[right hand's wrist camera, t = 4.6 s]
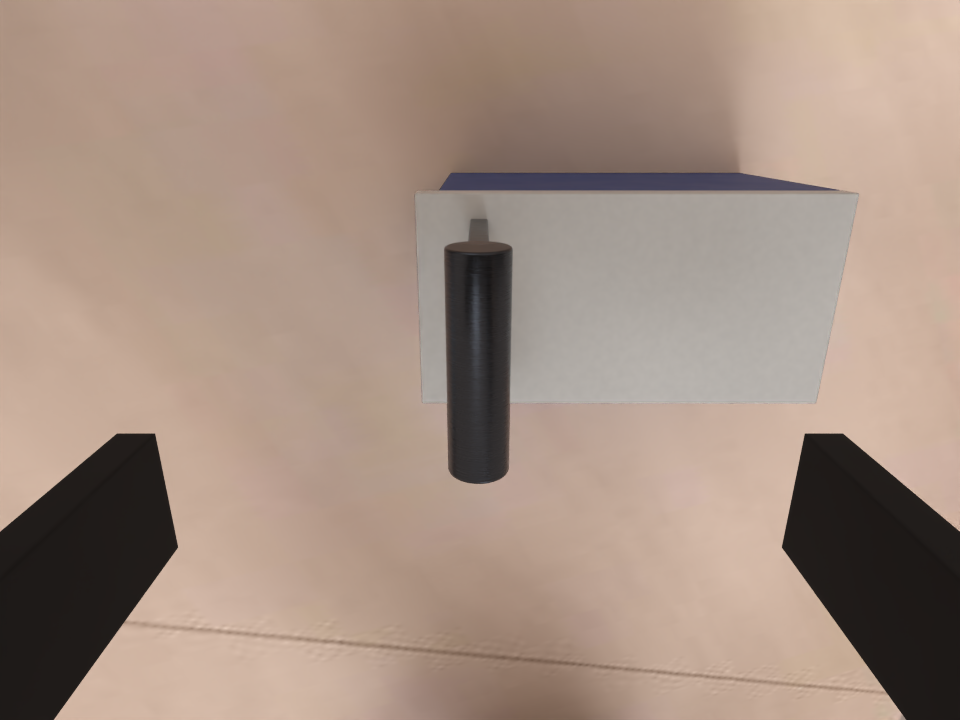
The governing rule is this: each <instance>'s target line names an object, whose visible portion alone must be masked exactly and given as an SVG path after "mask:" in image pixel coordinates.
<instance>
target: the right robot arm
mask: <svg viewBox="0 0 960 720" xmlns="http://www.w3.org/2000/svg"><path fill="white" fill-rule="evenodd" d="M177 548H178V545H177V540H176V535H175V530H174V525H173V520H172V515H171V510H170V505H169V500H168V495H167V490H166V485H165V480H164V476H163V471H162V466H161V461H160V456H159V451H158V446H157V441H156V436H155V434H116V435H115V436H114V437H113V438H111V439H110V440H109V441H108V442H107V443H105V444H104V445H103V446H102V447H101V448H99V449H98V450H97V451H96V452H95V453H93V454H92V455H91V456H90V457H89V458H88V459H86V460H85V461H84V462H83V463H82V464H80V465H79V466H78V467H77V468H76V469H74V470H73V471H72V472H71V473H70V474H68V475H67V476H66V477H65V478H64V479H63V480H61V481H60V482H59V483H58V484H57V485H55V486H54V487H53V488H52V489H51V490H49V491H48V492H47V493H46V494H45V495H43V496H42V497H41V498H40V499H39V500H37V501H36V502H35V503H34V504H33V505H32V506H30V507H29V508H28V509H27V510H26V511H24V512H23V513H22V514H21V515H20V516H18V517H17V518H16V519H15V520H14V521H12V522H11V523H10V524H9V525H8V526H7V527H5V528H4V529H3V530H2V531H1V532H0V720H54V719H55V717H56V716H57V714H58V713H59V712H60V710H61V709H62V708H63V706H64V705H65V703H66V702H67V701H68V699H69V698H70V696H71V695H72V694H73V692H74V691H75V689H76V688H77V687H78V685H79V684H80V683H81V681H82V680H83V678H84V677H85V676H86V674H87V673H88V671H89V670H90V669H91V667H92V666H93V665H94V663H95V662H96V660H97V659H98V658H99V656H100V655H101V653H102V652H103V651H104V649H105V648H106V647H107V645H108V644H109V642H110V641H111V640H112V638H113V637H114V635H115V634H116V633H117V631H118V630H119V629H120V627H121V626H122V624H123V623H124V622H125V620H126V619H127V617H128V616H129V615H130V613H131V612H132V610H133V609H134V608H135V606H136V605H137V604H138V602H139V601H140V599H141V598H142V597H143V595H144V594H145V592H146V591H147V590H148V588H149V587H150V586H151V584H152V583H153V581H154V580H155V579H156V577H157V576H158V574H159V573H160V572H161V570H162V569H163V568H164V566H165V565H166V563H167V562H168V561H169V559H170V558H171V556H172V555H173V554H174V552H175V551H176V550H177ZM782 548H783V550H784V551H785V552H786V554H787V555H788V556H789V558H790V559H791V561H792V562H793V563H794V565H795V566H796V568H797V569H798V570H799V572H800V573H801V574H802V576H803V577H804V579H805V580H806V581H807V583H808V584H809V586H810V587H811V588H812V590H813V591H814V592H815V594H816V595H817V597H818V598H819V599H820V601H821V602H822V604H823V605H824V606H825V608H826V609H827V611H828V612H829V613H830V615H831V616H832V617H833V619H834V620H835V622H836V623H837V624H838V626H839V627H840V629H841V630H842V631H843V633H844V634H845V635H846V637H847V638H848V640H849V641H850V642H851V644H852V645H853V647H854V648H855V649H856V651H857V652H858V653H859V655H860V656H861V658H862V659H863V660H864V662H865V663H866V665H867V666H868V667H869V669H870V670H871V671H872V673H873V674H874V676H875V677H876V678H877V680H878V681H879V683H880V684H881V685H882V687H883V688H884V689H885V691H886V692H887V694H888V695H889V696H890V698H891V699H892V701H893V702H894V703H895V705H896V706H897V708H898V709H899V710H900V712H901V713H902V714H903V716H904V717H905V719H906V720H960V532H959V531H958V530H957V529H956V528H955V527H953V526H952V525H951V524H950V523H949V522H948V521H946V520H945V519H944V518H943V517H942V516H940V515H939V514H938V513H937V512H936V511H934V510H933V509H932V508H931V507H930V506H928V505H927V504H926V503H925V502H924V501H923V500H921V499H920V498H919V497H918V496H917V495H915V494H914V493H913V492H912V491H911V490H909V489H908V488H907V487H906V486H905V485H903V484H902V483H901V482H900V481H899V480H897V479H896V478H895V477H894V476H893V475H892V474H890V473H889V472H888V471H887V470H886V469H884V468H883V467H882V466H881V465H880V464H878V463H877V462H876V461H875V460H874V459H872V458H871V457H870V456H869V455H868V454H867V453H865V452H864V451H863V450H862V449H861V448H859V447H858V446H857V445H856V444H855V443H853V442H852V441H851V440H850V439H849V438H847V437H846V436H845V435H844V434H805V436H804V441H803V446H802V451H801V456H800V461H799V466H798V471H797V476H796V480H795V485H794V490H793V495H792V500H791V505H790V510H789V515H788V520H787V525H786V530H785V535H784V540H783V545H782Z"/></svg>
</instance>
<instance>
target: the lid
mask: <svg viewBox="0 0 960 720" xmlns="http://www.w3.org/2000/svg"><path fill="white" fill-rule="evenodd" d="M858 197H859V194H858V193H854V192H848V191H654V190H419V191H417V192H416V193H415V220H416V248H417V276H418V305H419V333H420V361H421V389H422V403H447V426H448V469H449V471H450V473H451V475H452V476H453V477H455V478H456V479H458V480H460V481H463V482H467V483H473V484H484V483H490V482H494V481H497V480H499V479H501V478H502V477H504V476H505V475H506V473H507V472H508V469H509V430H510V403H816V401H817V396H818V392H819V387H820V382H821V377H822V372H823V367H824V362H825V358H826V353H827V348H828V343H829V338H830V333H831V328H832V324H833V319H834V314H835V309H836V304H837V299H838V294H839V289H840V285H841V280H842V275H843V270H844V265H845V260H846V255H847V251H848V246H849V241H850V236H851V231H852V226H853V221H854V217H855V212H856V207H857V202H858Z"/></svg>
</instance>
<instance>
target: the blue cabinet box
mask: <svg viewBox="0 0 960 720" xmlns="http://www.w3.org/2000/svg"><path fill="white" fill-rule="evenodd" d="M440 190H654V191H840V190H836V189H830V188H824V187H818V186H812V185H806V184H801V183H795V182H789V181H783V180H777V179H771V178H765V177H760V176H754V175H748V174H742V173H451V174H450V175H449V177H448V178H447V179H446V181H445V182H444V184H443V185H442V187H441V188H440Z"/></svg>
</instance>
